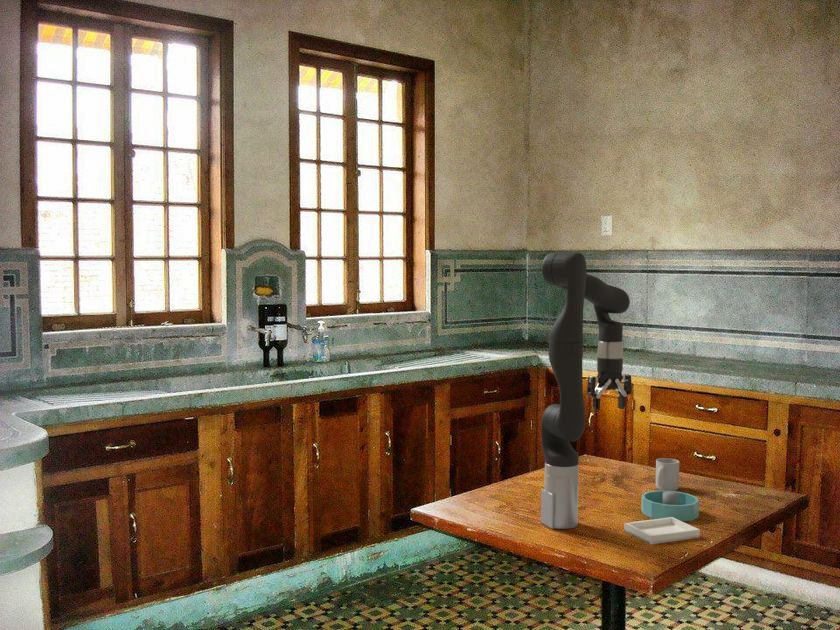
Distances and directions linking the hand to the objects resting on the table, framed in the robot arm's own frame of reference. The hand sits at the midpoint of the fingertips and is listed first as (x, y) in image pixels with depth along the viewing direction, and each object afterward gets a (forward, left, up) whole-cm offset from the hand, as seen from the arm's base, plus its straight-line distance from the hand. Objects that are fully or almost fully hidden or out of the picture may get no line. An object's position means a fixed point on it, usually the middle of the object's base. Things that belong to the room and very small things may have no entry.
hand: (609, 409), depth 261 cm
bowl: (+10, -17, -28) cm, 34 cm away
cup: (+25, +5, -28) cm, 38 cm away
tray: (-4, -32, -28) cm, 43 cm away
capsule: (+10, -17, -27) cm, 34 cm away
